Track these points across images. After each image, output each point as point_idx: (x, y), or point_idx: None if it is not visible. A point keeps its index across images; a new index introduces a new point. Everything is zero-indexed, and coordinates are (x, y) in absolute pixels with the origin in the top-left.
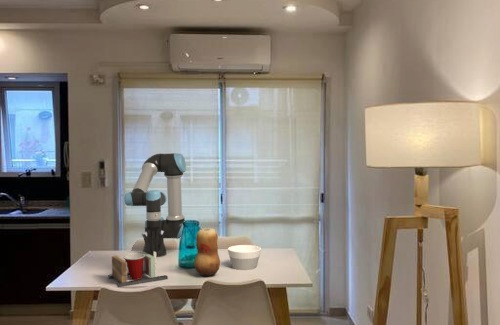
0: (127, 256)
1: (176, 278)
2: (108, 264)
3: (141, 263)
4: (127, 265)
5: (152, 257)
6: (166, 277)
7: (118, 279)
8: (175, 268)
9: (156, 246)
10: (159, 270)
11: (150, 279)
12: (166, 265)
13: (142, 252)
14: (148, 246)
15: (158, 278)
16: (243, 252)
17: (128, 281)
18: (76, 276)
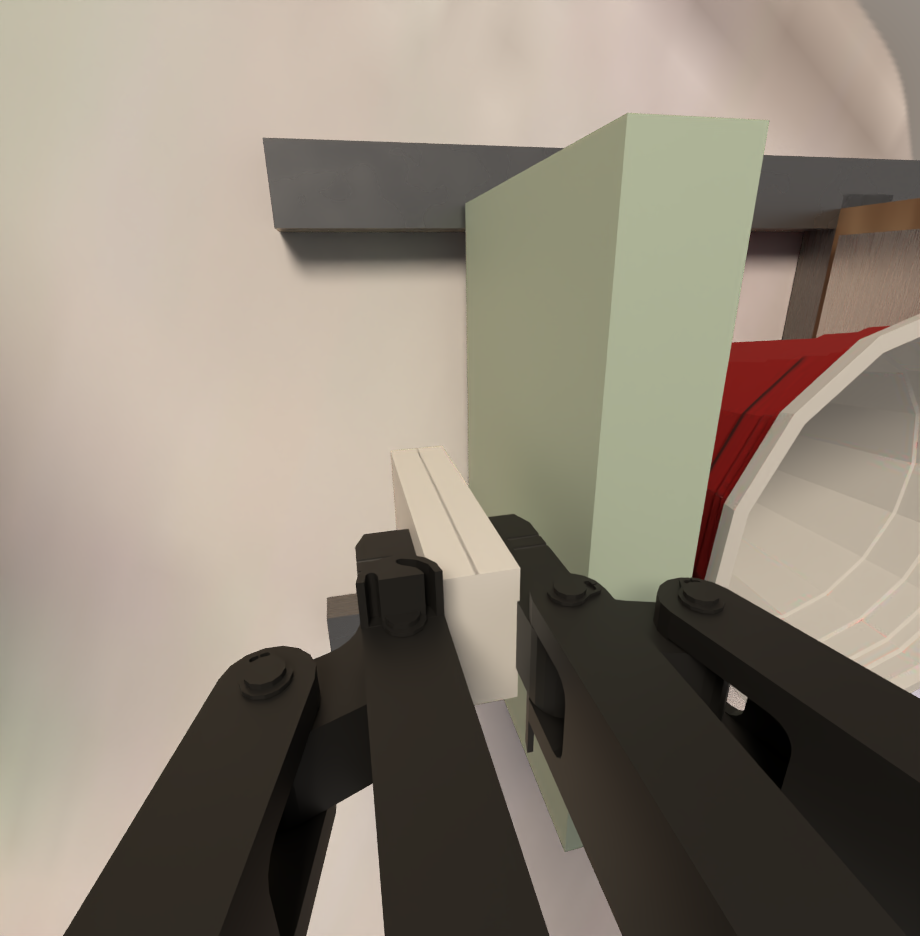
0: (903, 655)
1: (105, 87)
2: (608, 924)
3: (743, 367)
4: (877, 451)
5: (699, 156)
6: (285, 145)
7: None
8: (6, 655)
9: (463, 745)
10: (256, 637)
11: (556, 151)
12: (110, 808)
13: None
14: (857, 701)
15: (429, 145)
16: None
17: (818, 213)
18: (914, 695)
